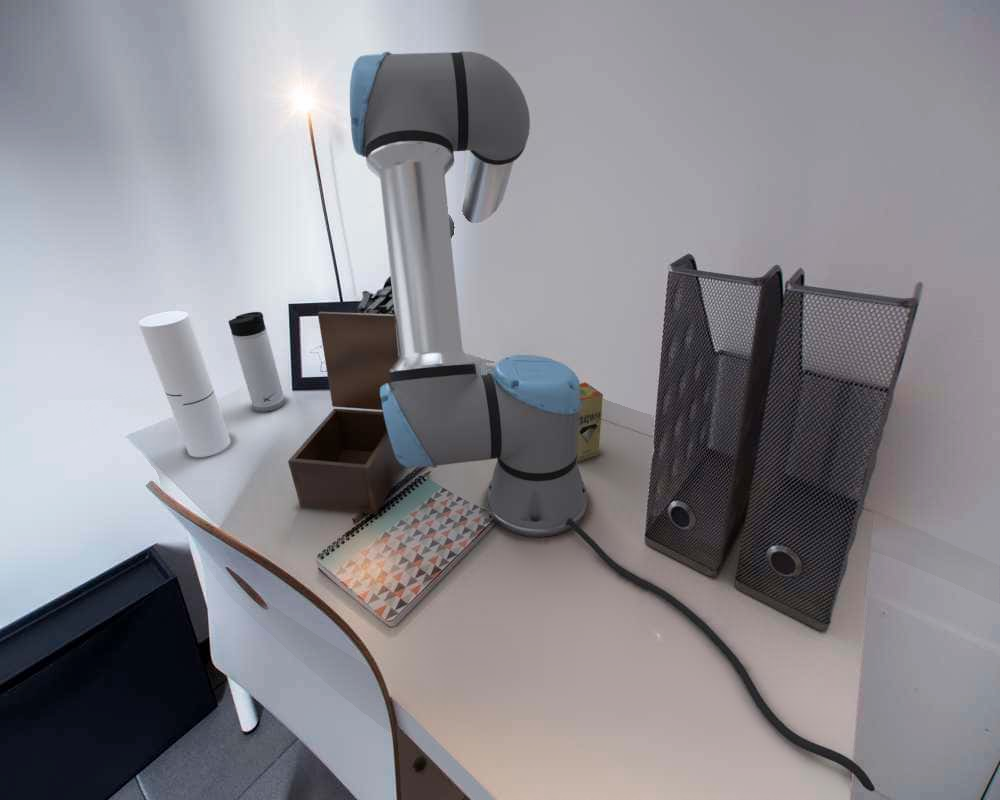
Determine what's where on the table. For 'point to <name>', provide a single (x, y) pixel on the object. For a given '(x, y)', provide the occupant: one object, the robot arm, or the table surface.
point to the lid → (358, 356)
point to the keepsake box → (346, 463)
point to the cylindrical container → (185, 381)
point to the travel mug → (257, 361)
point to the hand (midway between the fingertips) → (361, 331)
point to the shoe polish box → (589, 422)
